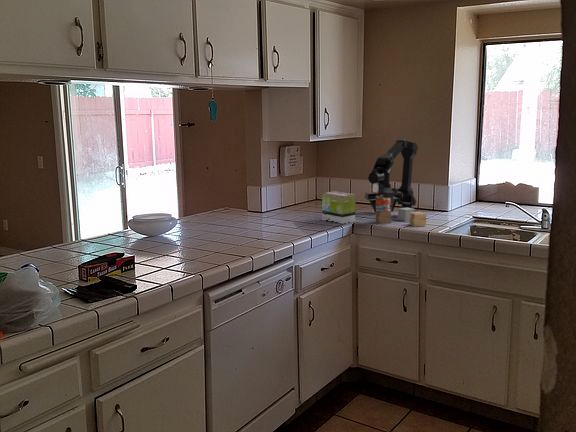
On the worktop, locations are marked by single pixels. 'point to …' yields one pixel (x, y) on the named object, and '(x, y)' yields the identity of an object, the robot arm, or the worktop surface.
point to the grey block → (404, 213)
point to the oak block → (418, 218)
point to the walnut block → (383, 216)
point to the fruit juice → (381, 200)
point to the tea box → (338, 207)
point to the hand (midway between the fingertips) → (383, 212)
